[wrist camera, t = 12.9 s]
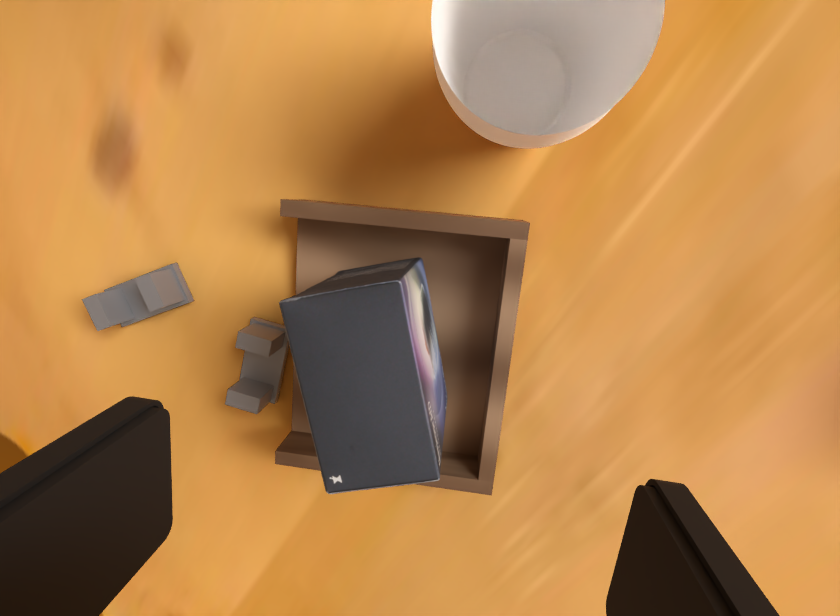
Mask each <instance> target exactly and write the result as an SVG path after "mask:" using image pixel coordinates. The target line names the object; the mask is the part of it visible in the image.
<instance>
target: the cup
mask: <svg viewBox="0 0 840 616" xmlns="http://www.w3.org/2000/svg"><path fill="white" fill-rule="evenodd" d="M664 9H665V0H433V3H432V16H431V26H432V38H433V59H434V66H435V70H436V74H437V78H438V81H439V84H440V87H441V89H442V91H443V93H444V96H445V97H446V99H447V101H448V103H449V104H450V106H451V107H452V109H453V110H454V112H455V113H456V114H457V115H458V117H459V118H460V119H461V120H462V121H463V122H464V123H465V124H466V125H467V126H468V127H469V128H471V129H472V130H473V131H475V132H476V133H477V134H479V135H481V136H482V137H484V138H486V139H488V140H490V141H492V142H495V143H498V144H501V145H504V146H508V147H514V148H527V149H531V148H542V147H547V146H552V145H555V144H559V143H562V142H565V141H567V140H570V139H572V138H574V137H576V136H578V135H580V134H582V133H583V132H585V131H586V130H588V129H589V128H591V127H592V126H593V125H595V124H596V123H597V122H599V121H600V120H601V119H602V118H603V117H604V116H605V115H606V114H607V113H608V112H609V111H610V110H611V109H612V108H613V107H614V105H616V104H617V103H618V102H619V101H620V100H621V99H622V98H623V97H624V96H625V95H626V94H627V93H628V92H629V90H630V89H631V88H632V87H633V86H634V84H635V83H636V82H637V80H638V79H639V78H640V76H641V74H642V73H643V71H644V70H645V68H646V66H647V64H648V62H649V60H650V59H651V57H652V54H653V52H654V49H655V47H656V44H657V41H658V38H659V35H660V31H661V27H662V22H663V16H664Z"/></svg>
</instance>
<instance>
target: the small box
mask: <svg viewBox="0 0 840 616" xmlns="http://www.w3.org/2000/svg"><path fill="white" fill-rule="evenodd" d="M279 305H280V308H281V312H282V317H283V321H284V325H285V329H286V333H287V337H288V341H289V345H290V349H291V353H292V357H293V362H294V365H295V369H296V374H297V378H298V382H299V386H300V390H301V394H302V398H303V402H304V406H305V410H306V414H307V418H308V421H309V425H310V430H311V434H312V438H313V442H314V446H315V450H316V454H317V458H318V462H319V466H320V470H321V474H322V478H323V482H324V486H325V490H326V492H327V493H328V494H335V493H342V492H349V491H358V490H368V489H375V488H383V487H392V486H400V485H409V484H418V483H425V482H433V481H438V480H440V468H441V459H442V448H443V438H444V428H445V417H446V408H447V398H448V397H447V390H446V383H445V378H444V372H443V366H442V360H441V355H440V349H439V344H438V338H437V332H436V327H435V321H434V316H433V311H432V305H431V300H430V294H429V289H428V284H427V279H426V274H425V269H424V264H423V260H422V258H420V257H418V258H412V259H405V260H398V261H394V262H387V263H382V264H376V265H370V266H365V267H359V268H353V269H348V270H342V271H338V272H337V273H336V274H335V275H334V276H332V277H330V278H327V279H326V280H324V281H322V282H320V283H318V284H316V285H314V286H312V287H310V288H308V289H306V290H305V291H303V292H301V293H299V294H297V295H295V296H292V297H290V298H287V299H284V300H282V301H280V303H279Z"/></svg>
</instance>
